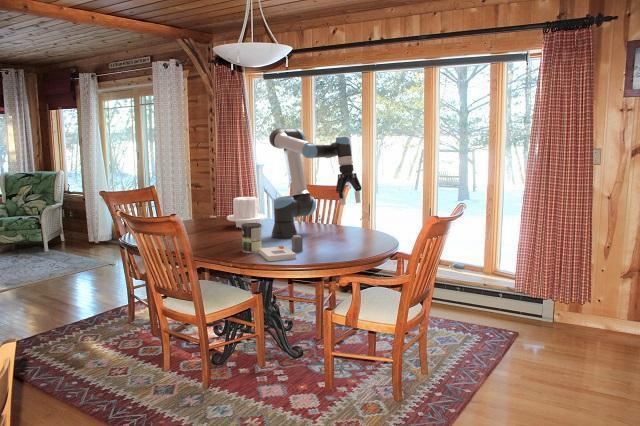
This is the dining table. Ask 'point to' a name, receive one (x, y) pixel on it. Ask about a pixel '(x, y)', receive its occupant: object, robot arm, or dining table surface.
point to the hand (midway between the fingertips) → (350, 203)
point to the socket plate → (277, 253)
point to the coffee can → (251, 237)
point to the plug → (297, 243)
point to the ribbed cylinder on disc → (245, 211)
